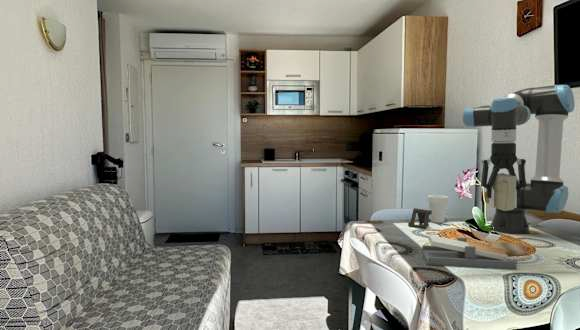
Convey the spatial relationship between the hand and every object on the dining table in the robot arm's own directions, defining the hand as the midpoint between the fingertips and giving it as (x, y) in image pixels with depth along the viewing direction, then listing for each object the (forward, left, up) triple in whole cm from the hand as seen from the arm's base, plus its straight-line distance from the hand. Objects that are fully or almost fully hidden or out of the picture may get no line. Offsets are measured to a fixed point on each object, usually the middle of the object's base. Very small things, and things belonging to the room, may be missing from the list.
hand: (502, 206), depth 132 cm
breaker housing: (+13, +6, -18) cm, 23 cm away
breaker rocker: (+13, +6, -13) cm, 20 cm away
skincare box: (0, 0, -1) cm, 1 cm away
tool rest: (-5, -8, -18) cm, 20 cm away
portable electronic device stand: (+22, -43, -18) cm, 52 cm away
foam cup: (+12, -56, -18) cm, 60 cm away
